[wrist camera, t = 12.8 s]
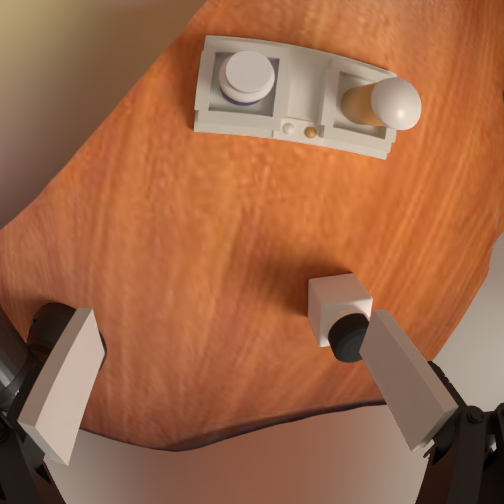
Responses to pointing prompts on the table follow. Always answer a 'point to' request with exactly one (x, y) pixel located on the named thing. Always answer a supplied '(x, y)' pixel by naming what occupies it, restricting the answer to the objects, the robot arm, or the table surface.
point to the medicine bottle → (339, 314)
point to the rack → (308, 99)
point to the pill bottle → (246, 78)
